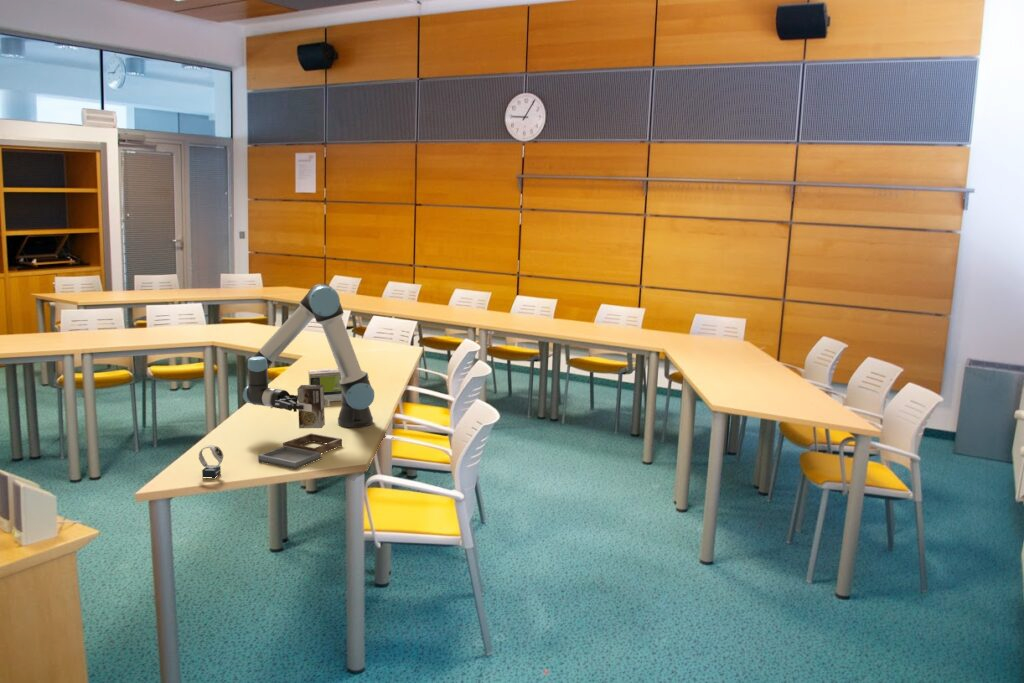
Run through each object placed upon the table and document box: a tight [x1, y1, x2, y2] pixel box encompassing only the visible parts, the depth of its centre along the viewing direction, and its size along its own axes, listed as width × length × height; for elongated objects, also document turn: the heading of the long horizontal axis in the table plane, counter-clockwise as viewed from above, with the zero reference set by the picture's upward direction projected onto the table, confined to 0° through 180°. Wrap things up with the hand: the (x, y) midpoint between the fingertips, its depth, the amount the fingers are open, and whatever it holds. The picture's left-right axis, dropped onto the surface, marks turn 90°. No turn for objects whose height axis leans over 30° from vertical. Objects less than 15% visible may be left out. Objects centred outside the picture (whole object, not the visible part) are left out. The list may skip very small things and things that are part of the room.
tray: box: [257, 445, 322, 470], centre depth 297 cm, size 14×18×2 cm
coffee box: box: [296, 384, 326, 429], centre depth 309 cm, size 9×6×16 cm
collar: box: [282, 433, 343, 454], centre depth 312 cm, size 16×16×3 cm
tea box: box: [308, 368, 342, 402], centre depth 390 cm, size 15×10×15 cm, turn 108°
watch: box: [198, 444, 224, 478], centre depth 277 cm, size 6×8×11 cm
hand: (320, 405), depth 307 cm, fingers closed on coffee box, 9 cm apart
